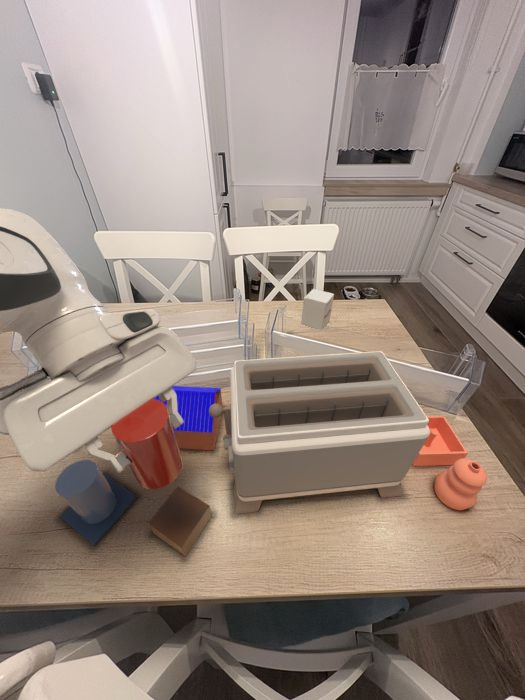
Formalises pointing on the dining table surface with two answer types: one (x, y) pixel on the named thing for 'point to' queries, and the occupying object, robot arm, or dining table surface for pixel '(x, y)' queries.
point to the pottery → (462, 476)
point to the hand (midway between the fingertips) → (153, 445)
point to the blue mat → (100, 529)
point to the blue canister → (86, 491)
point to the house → (196, 417)
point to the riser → (180, 520)
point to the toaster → (319, 427)
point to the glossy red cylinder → (149, 444)
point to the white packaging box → (317, 309)
